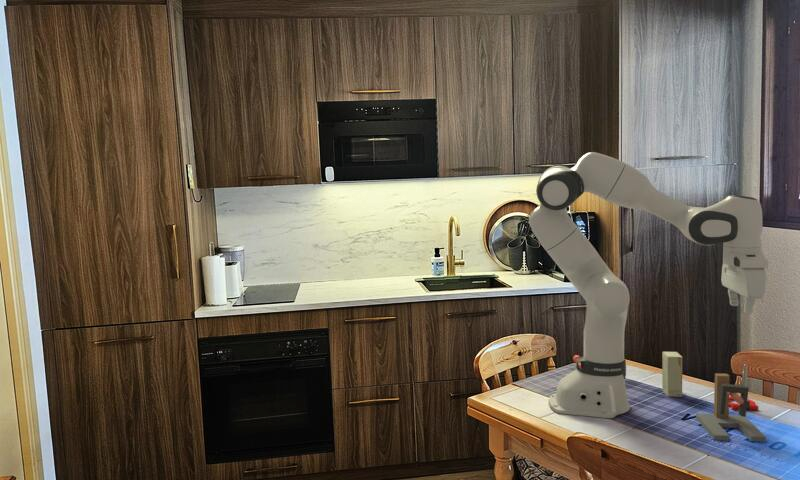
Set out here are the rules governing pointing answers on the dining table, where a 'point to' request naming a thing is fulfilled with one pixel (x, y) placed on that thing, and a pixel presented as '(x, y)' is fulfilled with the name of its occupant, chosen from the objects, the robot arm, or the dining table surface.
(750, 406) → the tow hook
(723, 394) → the bight
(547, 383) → the dining table surface
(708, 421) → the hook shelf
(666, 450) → the dining table surface
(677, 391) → the skincare box
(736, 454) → the dining table surface
